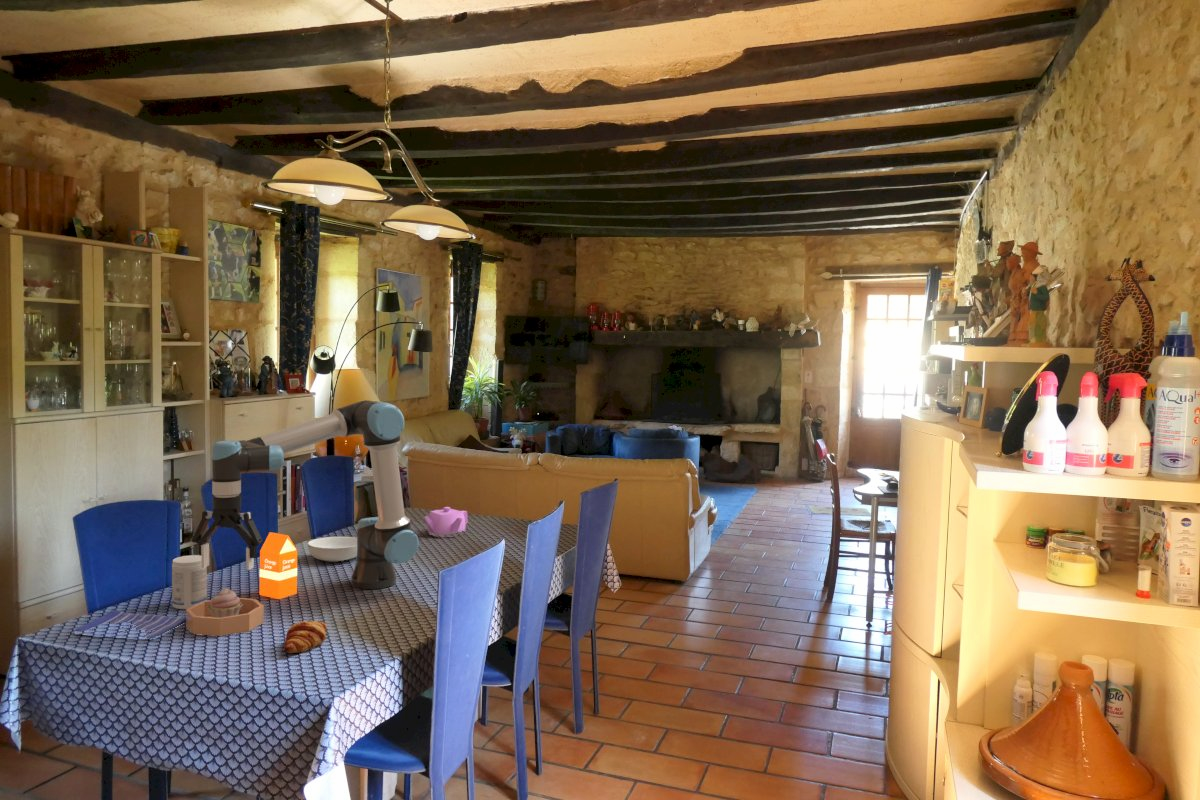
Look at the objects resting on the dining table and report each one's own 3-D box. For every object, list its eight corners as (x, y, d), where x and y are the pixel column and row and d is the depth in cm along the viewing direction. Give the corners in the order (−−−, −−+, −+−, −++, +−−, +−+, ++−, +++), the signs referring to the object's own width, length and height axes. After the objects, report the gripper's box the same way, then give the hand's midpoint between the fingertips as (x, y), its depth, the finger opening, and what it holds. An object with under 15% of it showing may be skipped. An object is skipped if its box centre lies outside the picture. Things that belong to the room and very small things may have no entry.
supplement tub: (206, 599, 258) (207, 553, 257) (206, 608, 249) (207, 561, 249) (172, 602, 254) (172, 556, 253) (170, 611, 245) (171, 563, 244)
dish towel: (112, 617, 239) (112, 608, 239) (189, 622, 238) (190, 613, 237) (70, 637, 222) (70, 627, 222) (153, 643, 220) (153, 633, 220)
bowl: (272, 616, 244) (273, 600, 244) (238, 638, 225) (238, 620, 225) (212, 612, 246) (213, 595, 246) (173, 633, 227) (174, 615, 227)
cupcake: (229, 628, 230) (230, 593, 230) (200, 625, 232) (200, 590, 231) (249, 618, 239) (250, 584, 239) (221, 615, 241) (221, 582, 241)
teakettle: (468, 531, 371) (469, 504, 370) (461, 539, 354) (461, 511, 353) (431, 529, 371) (432, 503, 371) (422, 538, 354) (423, 510, 354)
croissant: (314, 642, 234) (302, 617, 234) (344, 628, 233) (332, 603, 233) (277, 668, 213) (264, 641, 213) (310, 653, 212) (297, 625, 212)
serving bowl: (372, 554, 323) (372, 537, 322) (351, 567, 302) (351, 549, 301) (321, 551, 325) (322, 534, 324) (297, 564, 304) (297, 546, 303)
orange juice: (277, 589, 272) (278, 530, 271) (297, 593, 268) (298, 533, 267) (258, 594, 265) (259, 534, 264) (278, 599, 261) (279, 537, 260)
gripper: (274, 494, 236) (275, 566, 237) (193, 490, 239) (194, 562, 240) (261, 499, 229) (262, 573, 230) (177, 495, 231) (179, 569, 233)
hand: (227, 567), depth 235 cm, fingers open, 13 cm apart
